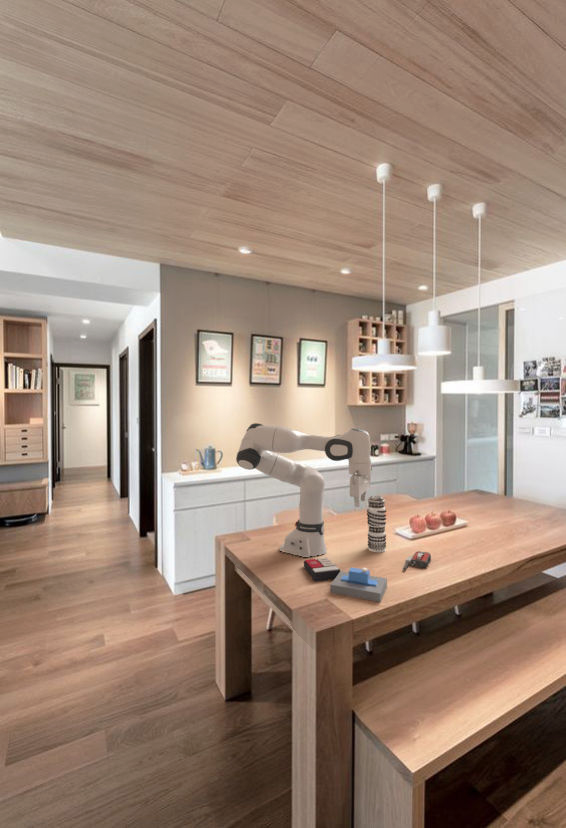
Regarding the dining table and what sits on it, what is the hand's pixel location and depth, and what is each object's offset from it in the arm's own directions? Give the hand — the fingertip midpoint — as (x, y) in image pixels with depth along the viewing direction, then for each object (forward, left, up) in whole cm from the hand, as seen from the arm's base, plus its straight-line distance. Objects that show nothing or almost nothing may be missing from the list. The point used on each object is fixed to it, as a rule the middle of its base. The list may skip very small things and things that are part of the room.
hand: (360, 503), depth 156 cm
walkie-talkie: (+19, +20, -30) cm, 41 cm away
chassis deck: (+2, -12, -29) cm, 32 cm away
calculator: (-16, -3, -30) cm, 34 cm away
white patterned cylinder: (0, +32, -29) cm, 43 cm away
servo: (+2, -12, -29) cm, 31 cm away
